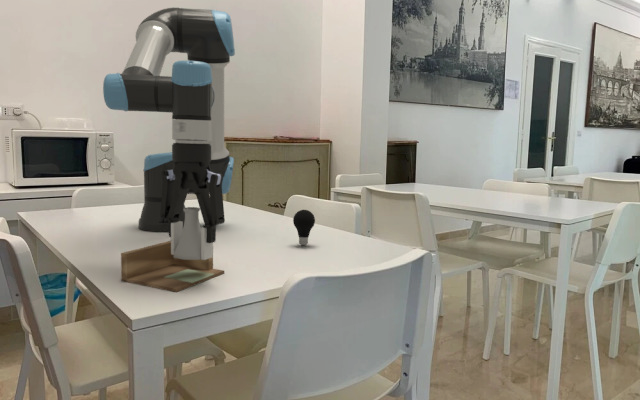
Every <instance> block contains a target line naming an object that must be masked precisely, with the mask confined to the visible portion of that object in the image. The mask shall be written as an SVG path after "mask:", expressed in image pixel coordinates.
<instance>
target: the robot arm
mask: <svg viewBox="0 0 640 400" xmlns="http://www.w3.org/2000/svg"><path fill="white" fill-rule="evenodd" d="M234 39H235V38H234V32H233V25H232V19H231V15H230V14H229V13H228V12H225V11H221V10H217V9H216V10H215V9H201V8H183V7H181V8H180V7H167V8H163V9H160V10H157V11H155V12H153V13H151V14H150V15H148V16H147V17H145V18H144V19H143V20H142V21H141V22H140V24H139V25H138V28H137V29H136V32H135V43H134V46H133V49H132V50H131V53H130V55H129V56H128V59H127V62H126V64H125V67H124V69H123V71H122V73H120V72H117V73H108V74H106V75H105V77H104V80H103V88H102V94H103V99H104V104H105V105H106V107H107V108H108V109H110V110H115V111H123V112H150V113H151V112H155V113H157V112H158V113H172V114H171V121H172V122H171V124H172V125H171V130H172V132H171V133H172V134H171V135H172V136H171V137H172V138H171V139H172V140H173V141H175V142H173V143H172V145H171V151H169V152H160V153H152V154H148V155H147V156H145V158H144V162H143V163H144V164H143V165H144V166H143V184H144V185H143V186H144V187H143V189H144V190H143V191H144V196H143V197H144V199H143V200H144V203H143V206H142V210H141V214H140V218H139V219H138V229H140V230H142V231H147V232H168V236H169V238H170V241H171V254H172V255H174V253H175V251H176V248H177V245H178V242H179V240H180V236H181V233H182V230H183V227H184V221H185V212H184V210H183V209H184V208H186V205H185V203H186V199H187V195H195V196H196V199H197V203H198V206H199V207H198V208H200V213H201V214H200V215H201V216H202V220H203V223H204V225H202V226H200V228H201V260H206V259H209V258H212V257H213V258H214V243H215V242H216V239H217V237H216V236H217V235H216V234H217V233H216V232H217V231H216V230H217V226H219V225H221V224H225V221H226V220H225V208H224V198H223V197H224V196H223V195H226V194H228V193H229V192H230V189H231V186H232V185H231V184H232V179H233V170H234V163H235V159H234V157H232V156H230V151H229V150H228V149H227V147H225V68H226V67H227V66H228V64H229V63H230V57H233V56H235V54H236V52H235V51H236V50H235V41H234ZM170 53H181V54H186V55H187V60H177V61H175V62H173V64H172V67H171V76H169V75H167V76H165V75H161V72H162V70H163V67H164V64H165V61H166V58H167V57H166V56H168V55H169V54H170Z"/></svg>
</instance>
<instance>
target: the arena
mask: <svg viewBox="0 0 640 400" xmlns="http://www.w3.org/2000/svg"><path fill="white" fill-rule="evenodd" d="M173 256H174V255H172V254H171V240H169V241H164V242H163V241H162V242H159V243H156V244H152V245H148V246H144V247H141V248H136V249H132V250H129V251H124V252H121V253H120V264H121V265H120V266H121V267H120V270H121V273H120V274H121V275H120V276H121V278H120V279H121V281H122V282H127V283H130V284H135V285H140V286H145V287H151V288H154V289H161V290H165V291H169V292H175V293H177V292H180V291H183V290H185V289H188V288H191V287H193V286H195V285H196V286H197V285H198V284H201V283H204V282H206V281H209V280H211V279H214V278H216V277H219V276H221V275H225V270H224V269H222V270H221V269H217V268H214V256H213V257H212V258H209V259H206V260H201V259H199V260H183V259H178V258H173Z"/></svg>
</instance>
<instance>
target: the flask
mask: <svg viewBox="0 0 640 400" xmlns="http://www.w3.org/2000/svg"><path fill="white" fill-rule="evenodd" d="M183 210H184V212H185V221H184V227H183V230H182V233H181V236H180V240H179V242H178V245H177V248H176V251H175V253H174V256H173V258H178V259H183V260H199V259H201V225H200V224H201V223H200V219H199V213H200V212H201V210H200V207H197V206H187V207H185V208H184V209H183Z"/></svg>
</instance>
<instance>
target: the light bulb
mask: <svg viewBox="0 0 640 400" xmlns="http://www.w3.org/2000/svg"><path fill="white" fill-rule="evenodd" d="M314 215H315V214H313V212H312V211H311V210H307V209H301V210H298V211H297V212H295V214H294V215H293V219H292V222H293V225H294V227H295V229H296V230H297V236H298V243H299V244H300V245H301V247H305V246H307V245H308V243H309V236H310V233H311V231H312V228H314V227H315V223H316V218H315V216H314Z"/></svg>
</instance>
